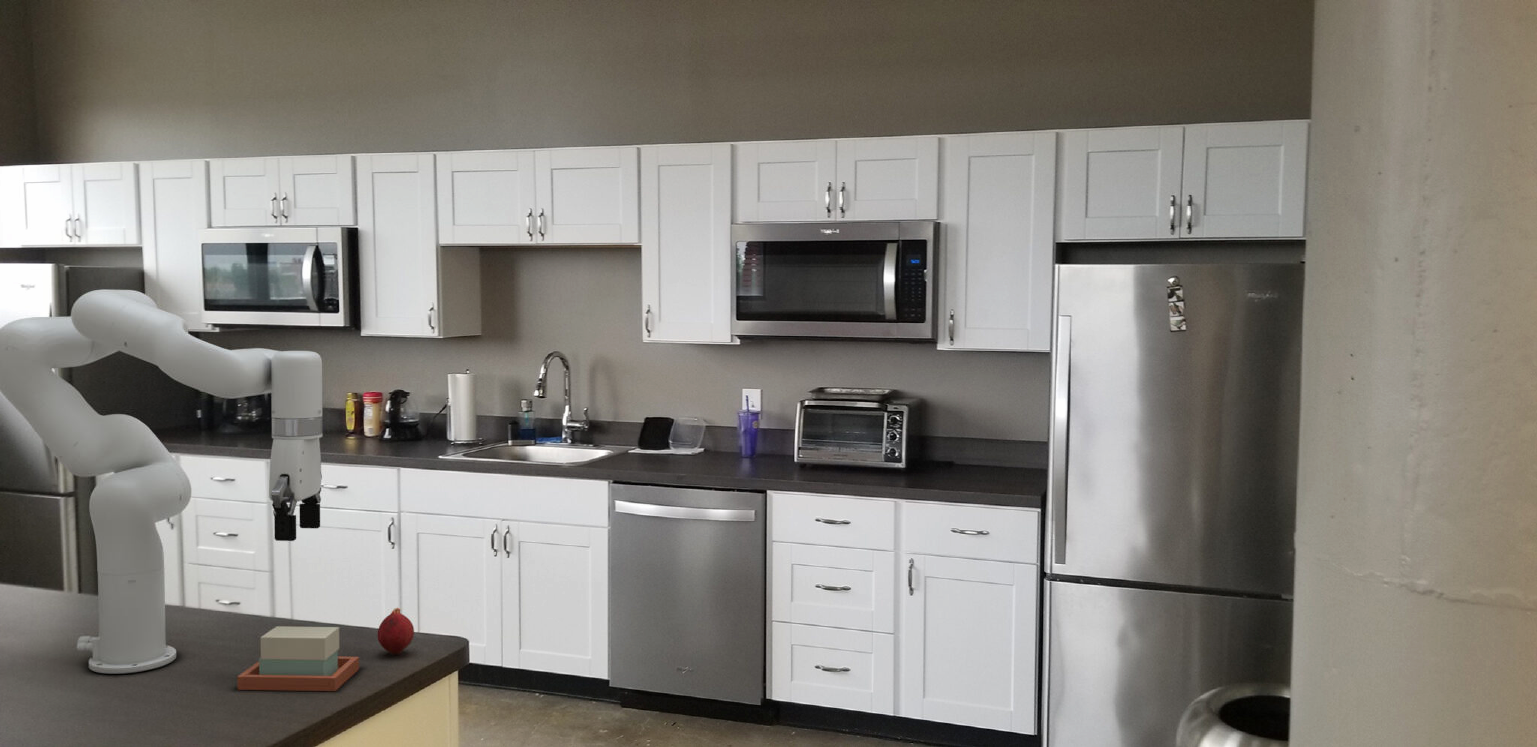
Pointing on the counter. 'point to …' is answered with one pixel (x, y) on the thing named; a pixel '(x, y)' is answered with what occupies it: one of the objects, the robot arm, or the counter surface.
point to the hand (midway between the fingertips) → (298, 533)
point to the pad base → (299, 666)
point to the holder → (298, 678)
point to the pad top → (300, 643)
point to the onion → (395, 632)
